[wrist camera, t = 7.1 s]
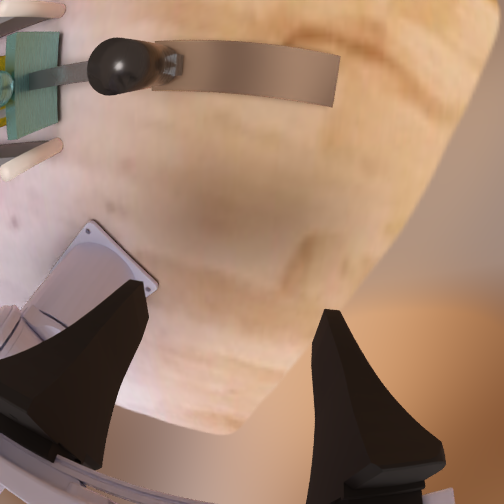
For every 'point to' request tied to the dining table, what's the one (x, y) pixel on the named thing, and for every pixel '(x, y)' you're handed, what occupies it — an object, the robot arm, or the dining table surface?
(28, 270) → the dining table surface
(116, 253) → the robot arm
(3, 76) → the slider rail assembly
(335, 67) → the guide
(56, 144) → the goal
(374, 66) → the dining table surface
